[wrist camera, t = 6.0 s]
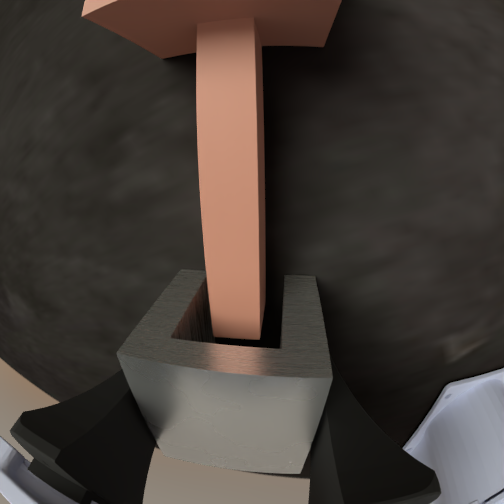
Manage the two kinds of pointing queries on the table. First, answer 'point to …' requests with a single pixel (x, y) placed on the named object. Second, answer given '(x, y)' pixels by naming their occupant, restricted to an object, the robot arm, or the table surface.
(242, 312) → the pink button lever
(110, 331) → the table surface
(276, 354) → the block
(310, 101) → the table surface
